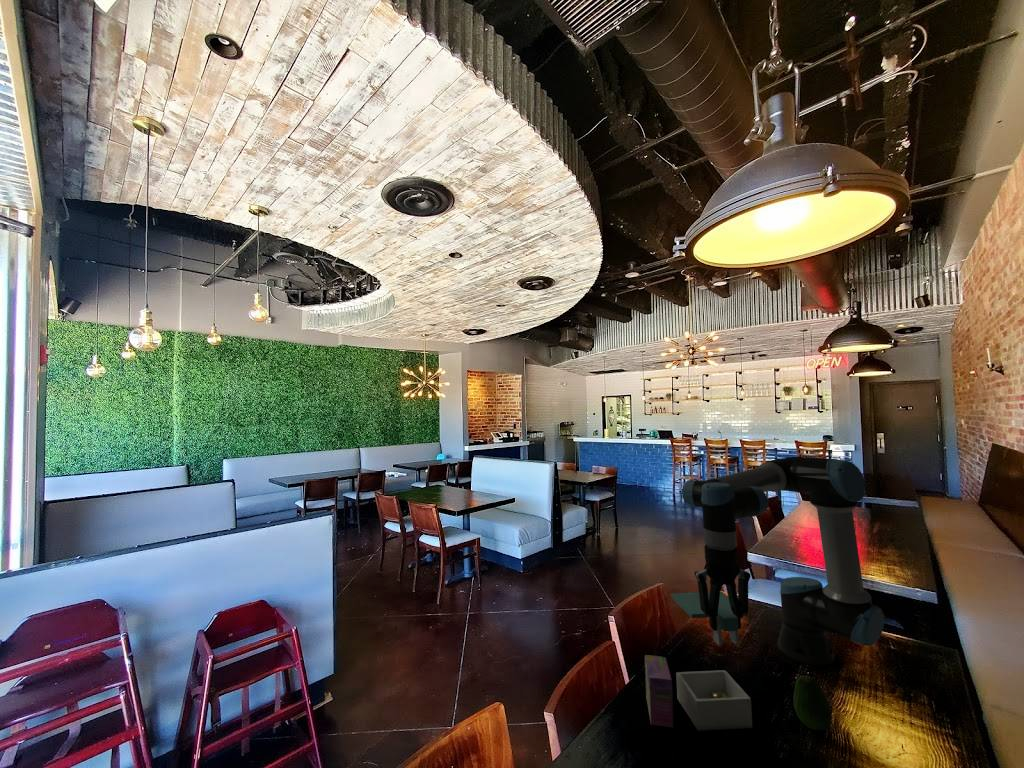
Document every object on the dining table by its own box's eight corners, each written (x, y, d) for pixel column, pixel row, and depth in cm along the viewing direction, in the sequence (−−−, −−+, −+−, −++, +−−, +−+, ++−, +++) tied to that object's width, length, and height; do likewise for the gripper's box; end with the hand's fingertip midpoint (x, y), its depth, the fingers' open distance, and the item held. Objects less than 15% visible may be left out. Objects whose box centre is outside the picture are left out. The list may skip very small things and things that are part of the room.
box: (674, 728, 106) (672, 679, 107) (650, 725, 107) (648, 677, 108) (667, 700, 116) (665, 656, 117) (646, 698, 118) (644, 654, 119)
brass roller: (724, 698, 115) (724, 688, 115) (730, 708, 112) (730, 698, 112) (709, 699, 115) (710, 689, 115) (715, 708, 112) (716, 698, 112)
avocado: (790, 713, 110) (787, 666, 111) (826, 720, 108) (822, 671, 109) (800, 735, 103) (796, 684, 104) (838, 743, 100) (834, 690, 101)
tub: (726, 696, 118) (725, 670, 118) (752, 728, 106) (750, 698, 106) (677, 698, 117) (676, 672, 118) (697, 730, 105) (696, 701, 106)
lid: (721, 598, 120) (721, 587, 120) (760, 629, 103) (759, 617, 103) (671, 600, 120) (670, 589, 120) (701, 632, 102) (700, 619, 102)
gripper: (743, 540, 110) (749, 633, 109) (681, 542, 110) (686, 636, 108) (761, 549, 103) (768, 649, 101) (695, 551, 102) (700, 652, 100)
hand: (726, 642), depth 104 cm, fingers closed on lid, 3 cm apart
